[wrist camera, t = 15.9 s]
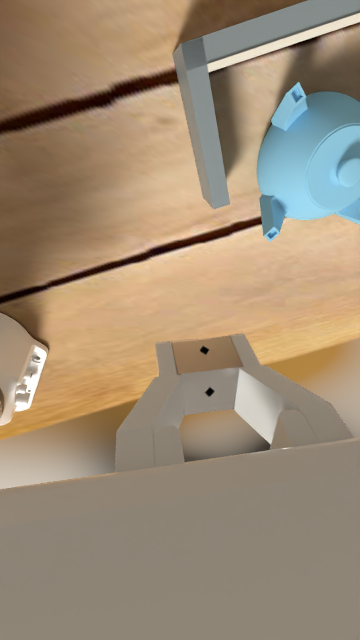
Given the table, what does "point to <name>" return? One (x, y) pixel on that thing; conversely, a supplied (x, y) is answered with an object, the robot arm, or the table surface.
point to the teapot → (310, 160)
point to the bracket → (235, 46)
